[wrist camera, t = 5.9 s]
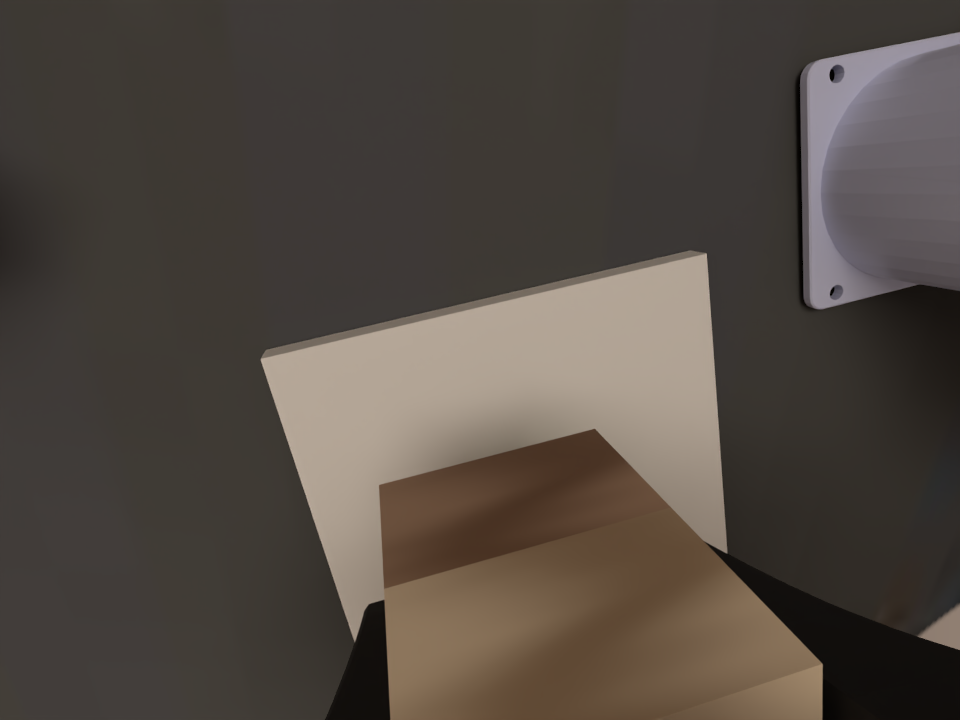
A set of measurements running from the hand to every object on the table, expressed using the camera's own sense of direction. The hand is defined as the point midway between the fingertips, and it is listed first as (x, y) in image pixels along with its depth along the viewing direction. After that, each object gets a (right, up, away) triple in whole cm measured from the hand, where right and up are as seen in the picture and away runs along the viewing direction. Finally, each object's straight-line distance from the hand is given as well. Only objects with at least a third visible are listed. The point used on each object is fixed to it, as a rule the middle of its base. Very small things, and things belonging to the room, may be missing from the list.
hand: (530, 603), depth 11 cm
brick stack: (0, +1, +1) cm, 2 cm away
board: (+1, -1, +10) cm, 10 cm away
